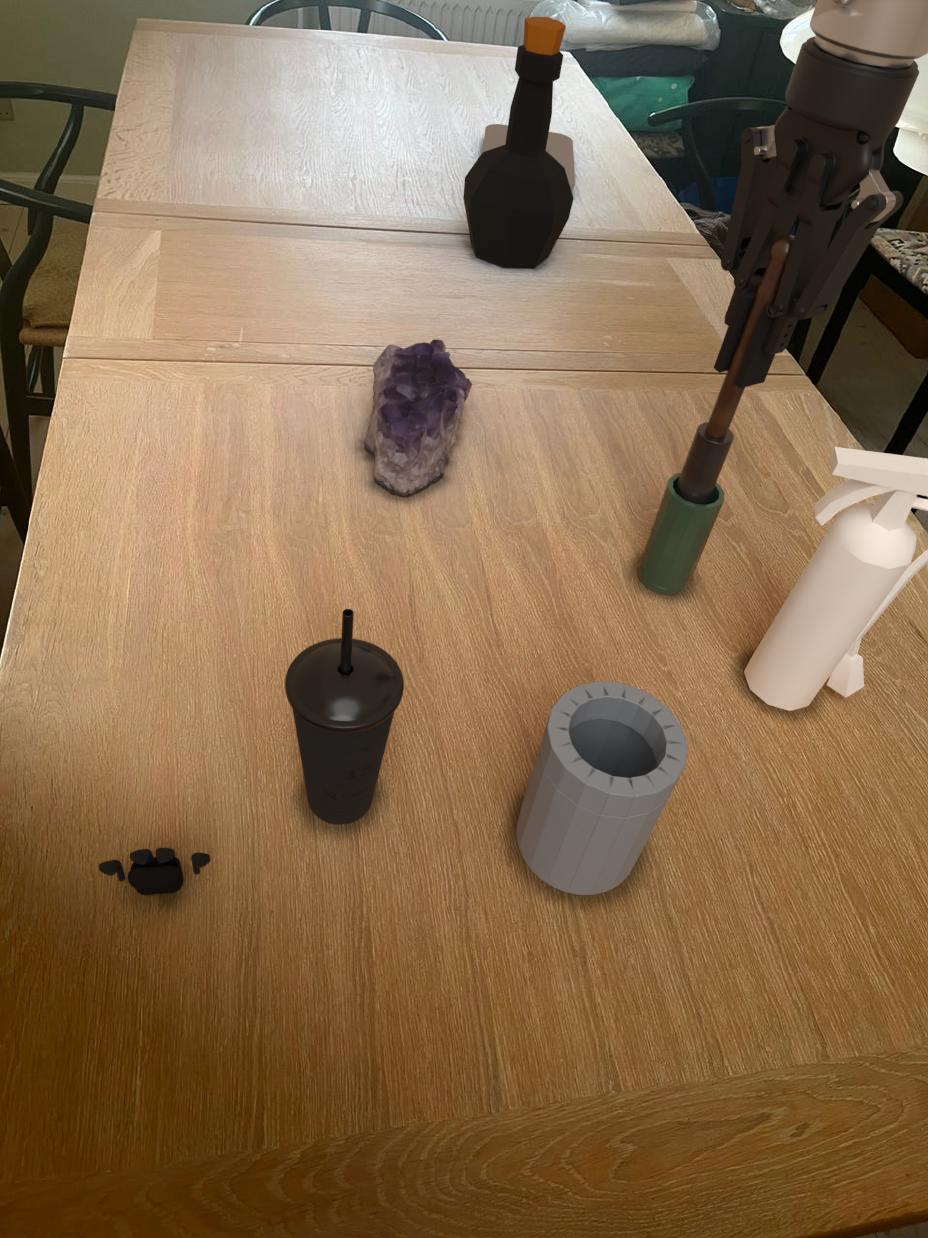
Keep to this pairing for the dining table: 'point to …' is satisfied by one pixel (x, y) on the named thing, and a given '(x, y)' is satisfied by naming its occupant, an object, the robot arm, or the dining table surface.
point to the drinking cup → (343, 720)
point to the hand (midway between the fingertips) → (738, 374)
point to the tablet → (556, 147)
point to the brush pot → (677, 540)
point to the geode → (414, 415)
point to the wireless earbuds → (154, 870)
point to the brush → (729, 393)
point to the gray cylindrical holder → (598, 786)
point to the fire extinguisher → (843, 580)
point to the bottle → (522, 165)
